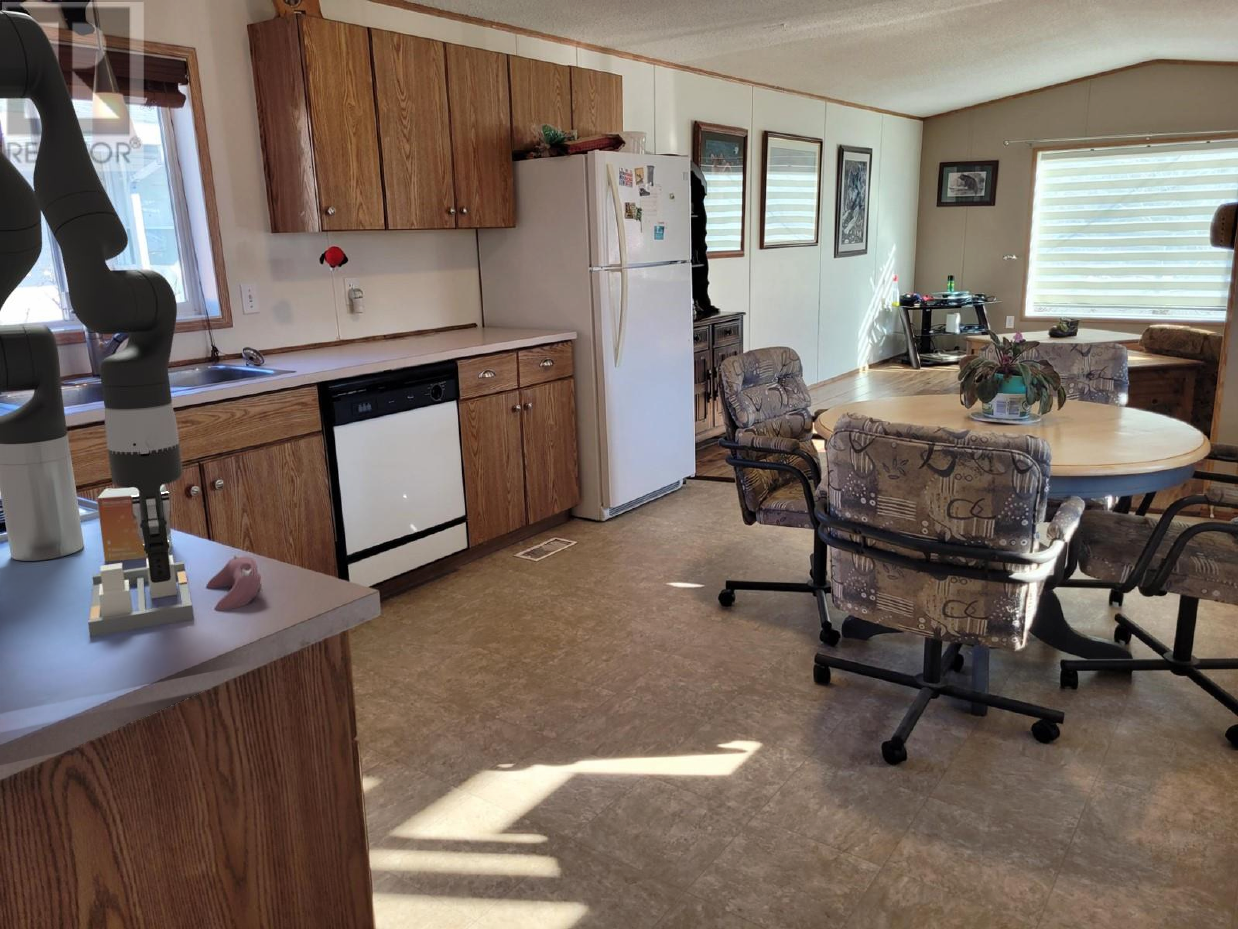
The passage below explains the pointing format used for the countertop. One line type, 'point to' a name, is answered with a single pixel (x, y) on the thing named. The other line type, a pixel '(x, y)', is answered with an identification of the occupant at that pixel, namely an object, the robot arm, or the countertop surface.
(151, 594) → the tab
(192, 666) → the countertop surface
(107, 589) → the tab
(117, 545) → the small box
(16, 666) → the countertop surface
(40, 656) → the countertop surface
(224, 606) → the video game controller
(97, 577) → the switch bank
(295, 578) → the countertop surface
